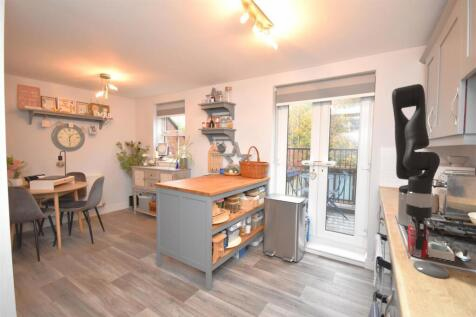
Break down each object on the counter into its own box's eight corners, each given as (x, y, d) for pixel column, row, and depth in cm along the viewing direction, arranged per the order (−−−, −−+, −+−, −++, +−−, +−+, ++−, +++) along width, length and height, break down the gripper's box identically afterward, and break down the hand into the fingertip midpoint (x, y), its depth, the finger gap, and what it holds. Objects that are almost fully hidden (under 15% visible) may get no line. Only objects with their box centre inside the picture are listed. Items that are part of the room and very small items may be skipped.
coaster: (411, 260, 79) (411, 258, 79) (444, 267, 75) (444, 265, 74) (415, 272, 72) (415, 270, 72) (452, 281, 67) (452, 279, 67)
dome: (429, 251, 85) (430, 241, 85) (444, 254, 83) (445, 244, 83) (432, 256, 82) (432, 246, 81) (448, 259, 79) (448, 248, 79)
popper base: (424, 249, 87) (425, 242, 87) (448, 253, 83) (448, 246, 83) (428, 257, 81) (429, 249, 81) (454, 262, 77) (454, 254, 77)
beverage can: (422, 252, 85) (423, 223, 84) (431, 260, 79) (433, 229, 78) (403, 250, 86) (405, 221, 86) (411, 258, 80) (413, 227, 80)
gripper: (404, 198, 89) (402, 236, 90) (409, 206, 77) (407, 250, 78) (427, 200, 85) (425, 240, 86) (436, 210, 73) (434, 255, 74)
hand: (417, 244), depth 82 cm, fingers open, 8 cm apart
